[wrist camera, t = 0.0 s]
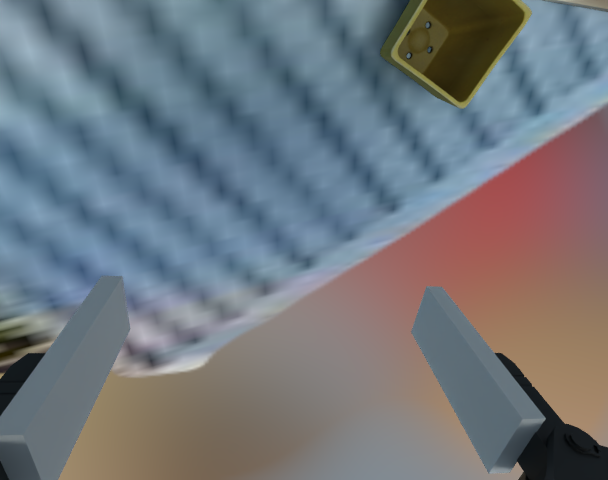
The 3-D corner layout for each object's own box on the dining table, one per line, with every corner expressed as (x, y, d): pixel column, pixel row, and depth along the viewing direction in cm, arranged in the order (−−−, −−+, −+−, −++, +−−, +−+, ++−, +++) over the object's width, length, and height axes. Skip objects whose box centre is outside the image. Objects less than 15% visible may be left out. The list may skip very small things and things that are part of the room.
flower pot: (412, -34, 33) (459, -62, 25) (475, 22, 36) (535, 12, 28) (360, 56, 36) (388, 55, 28) (422, 100, 39) (463, 111, 31)
